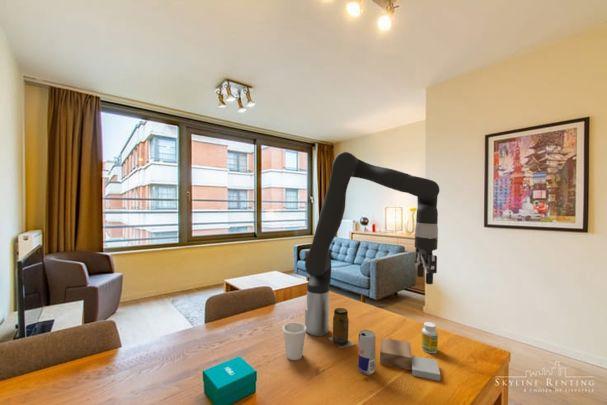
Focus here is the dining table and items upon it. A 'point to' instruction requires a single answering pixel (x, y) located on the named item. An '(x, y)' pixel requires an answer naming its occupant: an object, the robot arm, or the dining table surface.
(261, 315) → the dining table surface
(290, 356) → the dixie cup
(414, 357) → the slate coaster
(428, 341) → the supplement bottle
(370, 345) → the energy drink
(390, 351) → the walnut base
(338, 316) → the condiment
